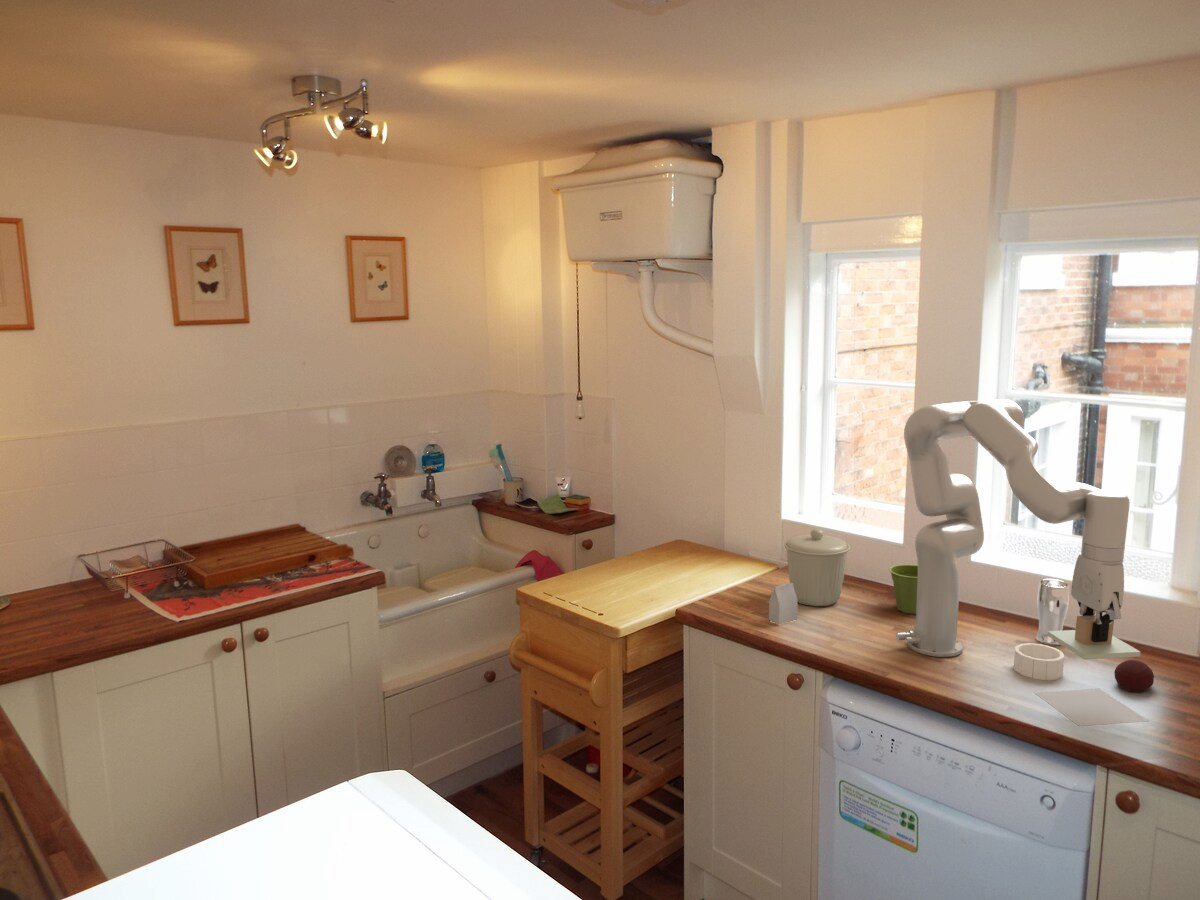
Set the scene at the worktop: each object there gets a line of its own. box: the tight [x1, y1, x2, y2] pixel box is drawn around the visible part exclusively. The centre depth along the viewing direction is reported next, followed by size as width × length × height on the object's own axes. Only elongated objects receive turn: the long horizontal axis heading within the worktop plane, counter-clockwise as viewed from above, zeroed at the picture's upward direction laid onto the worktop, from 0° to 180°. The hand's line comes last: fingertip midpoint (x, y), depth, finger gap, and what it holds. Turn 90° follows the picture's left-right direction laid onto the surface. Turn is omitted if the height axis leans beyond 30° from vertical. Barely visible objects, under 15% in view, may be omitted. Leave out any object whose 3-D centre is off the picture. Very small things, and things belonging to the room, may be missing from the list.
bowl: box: [1013, 642, 1065, 681], centre depth 200 cm, size 10×10×5 cm
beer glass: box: [1035, 578, 1070, 646], centre depth 218 cm, size 7×7×15 cm
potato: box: [1114, 659, 1155, 693], centre depth 192 cm, size 7×10×6 cm
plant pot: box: [888, 564, 918, 615], centre depth 241 cm, size 12×12×11 cm
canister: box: [783, 528, 851, 607], centre depth 248 cm, size 18×18×21 cm
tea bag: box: [768, 582, 798, 624], centre depth 234 cm, size 4×7×10 cm, turn 124°
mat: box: [1034, 688, 1149, 727], centre depth 183 cm, size 15×15×1 cm
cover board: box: [1047, 614, 1141, 660], centre depth 181 cm, size 12×12×6 cm
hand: (1093, 636), depth 181 cm, fingers closed on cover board, 3 cm apart
